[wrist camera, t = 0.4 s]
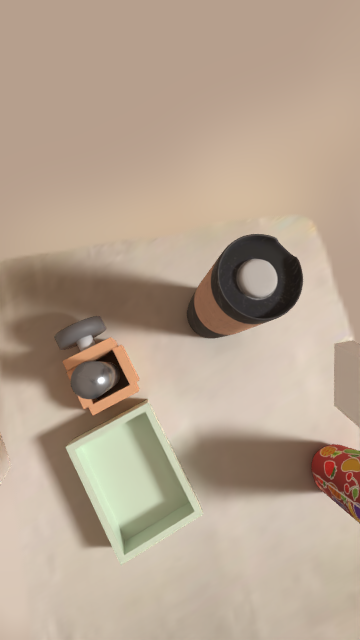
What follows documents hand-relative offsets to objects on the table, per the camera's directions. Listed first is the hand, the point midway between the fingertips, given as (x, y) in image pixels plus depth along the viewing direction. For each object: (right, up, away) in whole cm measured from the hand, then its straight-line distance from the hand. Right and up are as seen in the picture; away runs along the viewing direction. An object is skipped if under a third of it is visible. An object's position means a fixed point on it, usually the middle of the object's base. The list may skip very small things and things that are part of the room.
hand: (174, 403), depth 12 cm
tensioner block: (-11, -3, +31) cm, 33 cm away
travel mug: (+5, +4, +34) cm, 34 cm away
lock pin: (-10, -4, +31) cm, 32 cm away
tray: (-6, -17, +29) cm, 34 cm away
